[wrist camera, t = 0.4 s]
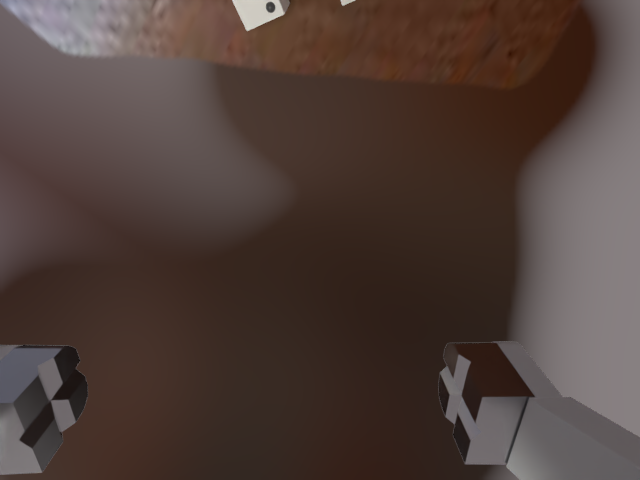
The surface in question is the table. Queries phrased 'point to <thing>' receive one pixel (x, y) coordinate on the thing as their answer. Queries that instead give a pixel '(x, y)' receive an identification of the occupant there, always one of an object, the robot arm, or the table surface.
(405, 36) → the table surface
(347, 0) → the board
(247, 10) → the die
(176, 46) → the table surface
